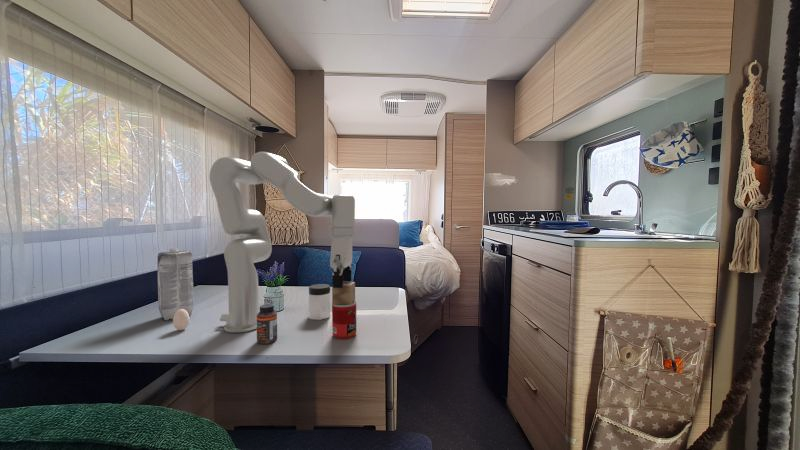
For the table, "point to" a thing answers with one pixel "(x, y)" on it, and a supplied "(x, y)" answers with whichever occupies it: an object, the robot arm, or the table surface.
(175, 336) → the table surface
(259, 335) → the supplement bottle
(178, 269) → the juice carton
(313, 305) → the jar
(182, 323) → the egg
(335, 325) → the canned food
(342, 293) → the walnut cube
